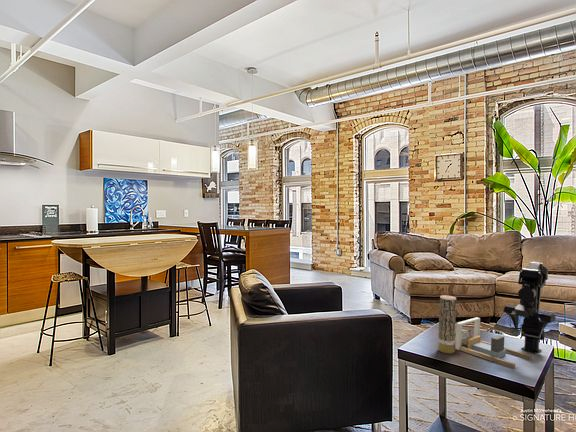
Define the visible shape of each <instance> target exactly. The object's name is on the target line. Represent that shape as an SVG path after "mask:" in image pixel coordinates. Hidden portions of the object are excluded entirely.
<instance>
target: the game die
mask: <svg viewBox="0 0 576 432" xmlns="http://www.w3.org/2000/svg"><path fill="white" fill-rule="evenodd" d="M471 331H472V330H471V329H469V330H467V329H464V328H462V342H461V346H464V347H466V348H468V339H471V338H473V337H472V334H471ZM455 339H456V332H455Z"/></svg>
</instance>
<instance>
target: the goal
mask: <svg viewBox="0 0 576 432" xmlns="http://www.w3.org/2000/svg"><path fill="white" fill-rule="evenodd" d="M471 323H474V328H473V337H476V336H481V335H480V332H481V331H480V329H481V317H477V316H476V317H473V318H470V319H469V318H468V319H466V320H462V321H458V322H455V333H456V338H455V346H454V350H458V351H461V347H462V344H461V342H462V329H463V326H465V325H469V324H471Z"/></svg>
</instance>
